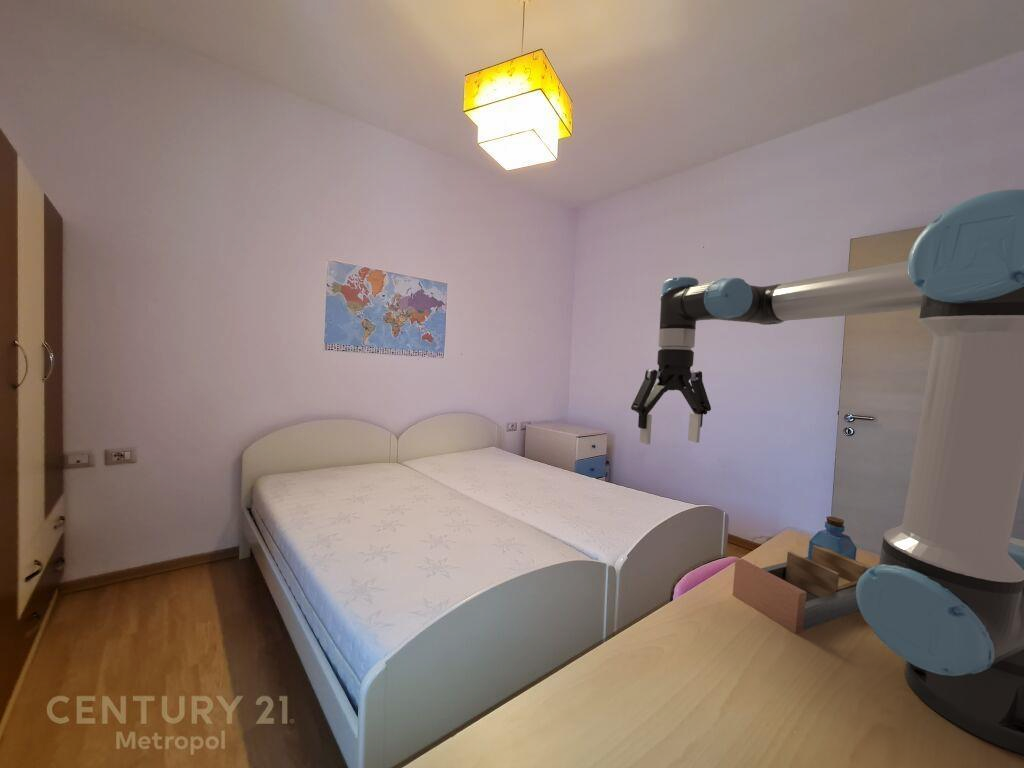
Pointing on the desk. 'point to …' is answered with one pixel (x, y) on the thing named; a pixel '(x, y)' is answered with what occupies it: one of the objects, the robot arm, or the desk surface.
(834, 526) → the perfume bottle
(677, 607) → the desk surface
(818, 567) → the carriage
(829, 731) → the desk surface
